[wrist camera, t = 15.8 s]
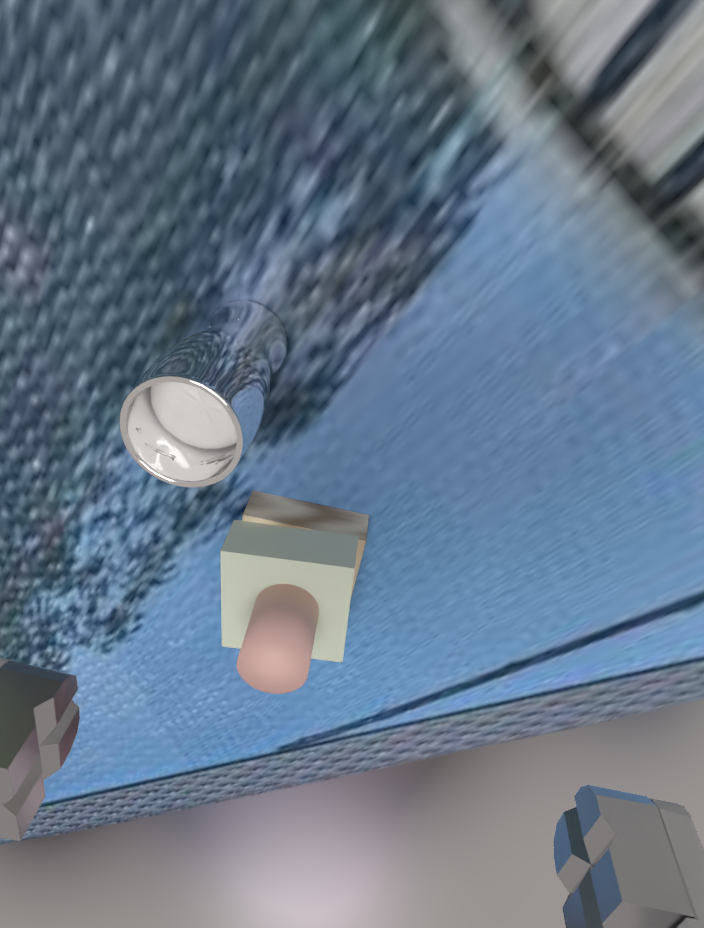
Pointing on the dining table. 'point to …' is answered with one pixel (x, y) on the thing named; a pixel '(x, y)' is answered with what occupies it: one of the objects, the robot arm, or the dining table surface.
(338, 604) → the tower top
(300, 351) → the dining table surface
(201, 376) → the beer glass
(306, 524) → the tower base
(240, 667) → the rose cylinder
